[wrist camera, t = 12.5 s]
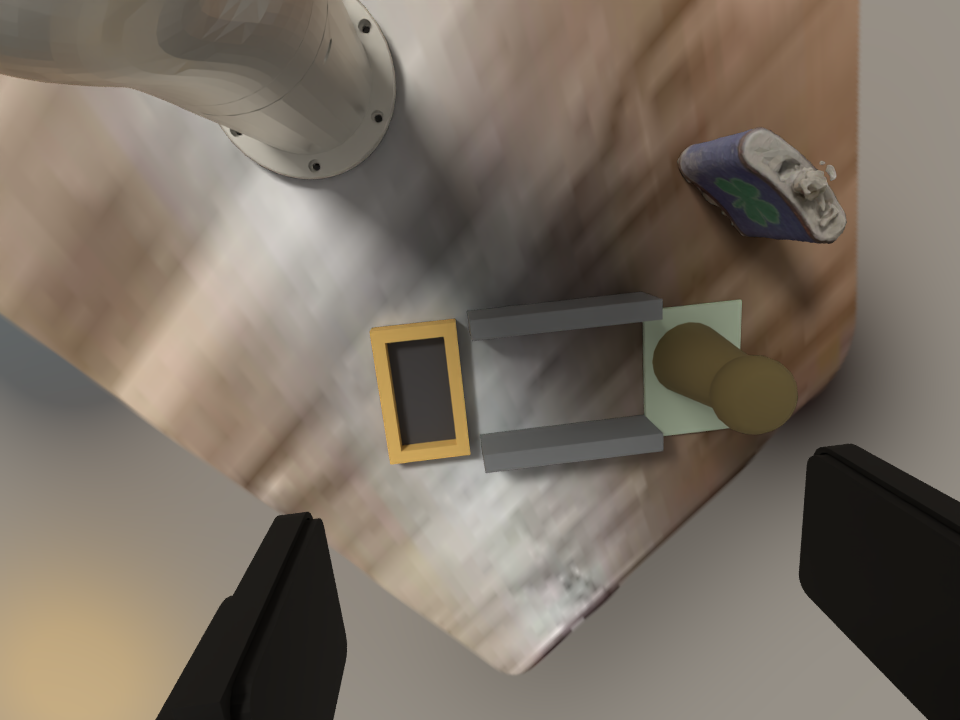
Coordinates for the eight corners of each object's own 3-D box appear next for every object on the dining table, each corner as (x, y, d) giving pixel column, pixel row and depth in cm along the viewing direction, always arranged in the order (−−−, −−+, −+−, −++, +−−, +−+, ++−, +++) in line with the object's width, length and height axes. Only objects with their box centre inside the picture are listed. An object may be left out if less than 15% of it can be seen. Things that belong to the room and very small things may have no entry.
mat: (642, 310, 42) (644, 311, 42) (739, 299, 43) (741, 300, 42) (644, 436, 45) (646, 438, 45) (734, 425, 46) (737, 426, 45)
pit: (372, 327, 41) (369, 331, 40) (455, 318, 41) (455, 322, 40) (392, 456, 44) (390, 464, 43) (469, 447, 44) (470, 454, 43)
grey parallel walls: (466, 311, 41) (469, 320, 38) (641, 291, 42) (662, 299, 38) (481, 450, 45) (485, 473, 41) (644, 431, 45) (663, 451, 41)
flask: (669, 164, 40) (751, 145, 29) (697, 132, 39) (789, 102, 29) (748, 245, 42) (851, 254, 31) (776, 216, 41) (888, 215, 31)
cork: (723, 388, 44) (812, 442, 34) (652, 397, 44) (720, 454, 33) (725, 318, 43) (819, 351, 32) (651, 326, 42) (722, 362, 32)
